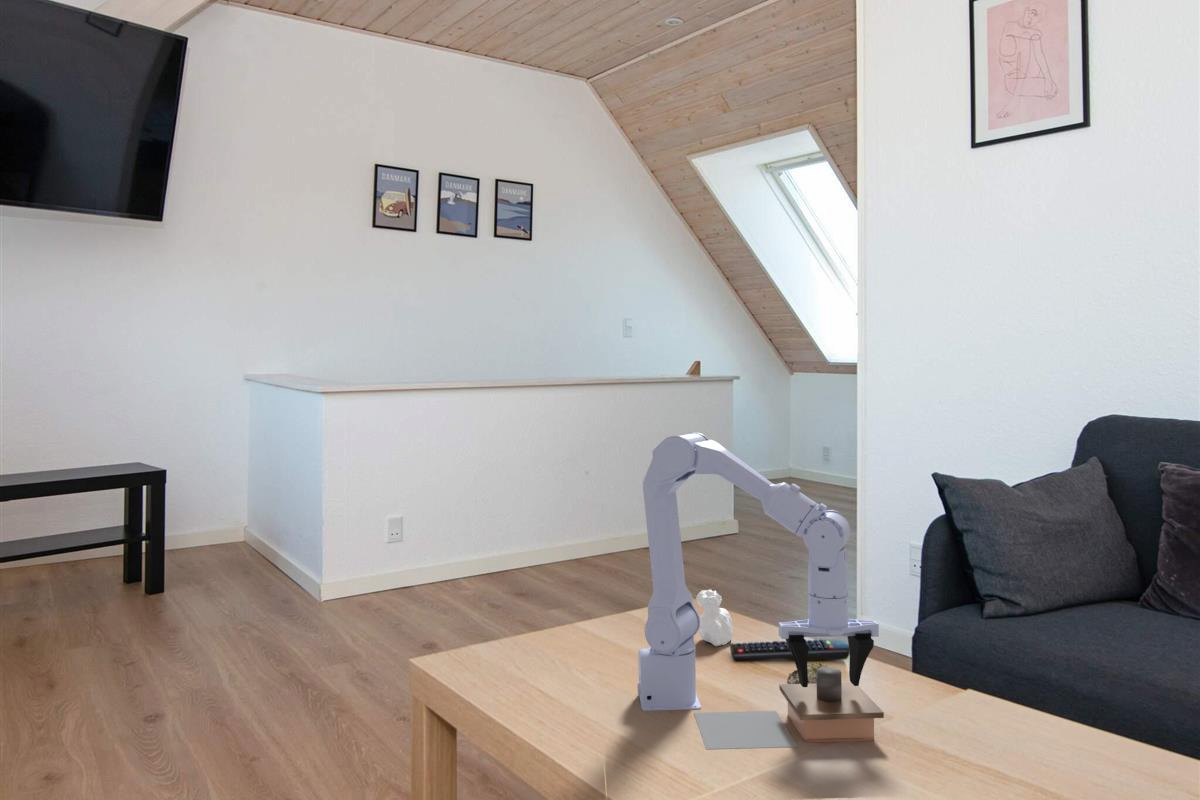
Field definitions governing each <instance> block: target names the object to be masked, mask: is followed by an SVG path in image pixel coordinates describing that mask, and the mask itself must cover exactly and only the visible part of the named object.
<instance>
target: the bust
mask: <svg viewBox="0 0 1200 800" xmlns="http://www.w3.org/2000/svg"><path fill="white" fill-rule="evenodd" d="M695 599H696V603H697V604H698V606H700V607H701V608H703V611H702V614H700V615H699V617H700V627H699V630H698V633H699V636H700V638H701V639H702V640H703V641H705V642H708V643H710V644H711V645H713V646H714V647H719V646H726V645H727V643H729V642H731V640H732V638H733V635H734V632H733V619H732V617H731V614H730V613H729V612H728V610H727V609H726V608H723V607H720V606H721V604H722V601H723V598H722V595H720V594H719V593H717V591H716V590H712V588H711V589H708V590H705V589H704V590H703V589H701V591H699V593H698V594H697V595H696V597H695ZM725 644H726V645H725Z"/></svg>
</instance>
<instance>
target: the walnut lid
mask: <svg viewBox="0 0 1200 800" xmlns="http://www.w3.org/2000/svg"><path fill="white" fill-rule="evenodd" d="M816 673H817V683H812V684H808V687H802V685H801V684H788V683H786V684H784V683H782V684H779V687H778V688H779V691H780V693H781V694H782V695H783V697H784V698H785V700H786V702H787V704H788V703H789V704H790V706H791V707H792V709H793V710H794V712H795V713H796V715H797V716H798V717H799V719H800V720H831V719H865V718H874V719H884V718H885V717H884V715H885V712H884V711H883V710H882V709H881V707H880V706H878V705H877V704H876V702H875V701H874V700H873V699H872V698H871V697H870V696H869V695H868V694H867V693H866V692H865V691H864V690H863V689H862V688H861V686H854V685H853V684H852V683H851V682H850V681H849V682H848V681H847V682H842V671H841V669H838V668H835V667H832V666H831V667H830V666H829V667H828V666H827V667H822V668H818V669H817V670H816Z"/></svg>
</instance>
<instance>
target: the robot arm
mask: <svg viewBox="0 0 1200 800" xmlns="http://www.w3.org/2000/svg"><path fill="white" fill-rule="evenodd" d="M695 474H696V475H718V476H719V477H721V478H723V479H724V480H725V481H728V482H730V484H733V485H734V486H736V487H737V488H739V489H741V490H742V491H744V492H745V493H747V494H749V495H751V496H752V497H753V498H755V499H757V500H758V501H759V502H761V506H762V509H763V512H764V514H765V515H767V516H768V517H770V518H771V519H773V520H774V521H776V523H778V524H780V525H781V526H783V527H784V528H786V529H787V530H788V531H790V532H791V533H792V534H794V535H796V536H797V537H799V538H802V539H803V543H804V546H806V548H807V550H808V563H807V567H808V568H807V569H808V572H807V573H808V575H807V576H808V577H807V580H808V581H807V582H808V590H807V591H808V619H802V620H794V621H786V622H785V621H783V622H782V621H781V622H778V636H779V637H780V638H781V639H782V640H785V642H786V643H787V646H788V648H789V650H790V654H791V655H792V658H793V660H794V663H795V667H796V670H797V671H798V676H799V683H800V684H801V685H802V687H808V673H807V666H808V658H809V657H808V656H809V649H810V646H809V645H808V644H807V639H806V638H811V637H812V638H814V637H815V638H817V637H819V638H821V637H823V638H825V637H847V642H848V654H849V668H848V669H849V671H848V673H849V675H848V676H849V682H851V683H852V684H853V685H854V686H859V685H860V679H861V675H862V672H863V669H864V666H865V663H866V661H867V659H868V657H869V655H870V653H871V652H872V650H873V648H874V646H875V640H874V639H873V638H877V637H878V638H879V636H880V635H879V630H880V629H879V627H880V626H879V623H878V622H877V621H875V620H873V619H872V620H869V619H867V620H866V619H851V618H849V575H848V574H849V573H848V572H849V566H848V565H849V564H848V562H847V558H848V554H847V553H848V552H847V551H848V549H847V548H848V547H847V546H845V545H846V544H847V543H848V541H849V539H850V536H851V526H850V523H849V521H848V520H847V519H846V518H845V517H844V515H842V514H841V512H839V511H838V510H835V509H828V506H827V505H825V504H824V503H823V502H822V503H820V504H819V503H818V502H816V501H814V500H812V499H811V498H809V497H808V496H806V495H805V494H804V493H802V492H800V490H801V487H800V486H799V485H797V484H796V483H791V485H789V484H788V483H787V482H779V483H773V482H771V481H770V480H769V479H768V478H766V477H765V476H763V475H762V474H761V473H759V472H758V471H757V470H755V469H754V468H752V467H751V466H750V465H748V464H747V463H746V462H744V461H743V460H741V459H740V458H739V457H738V456H736V455H735V454H734V453H732V452H731V451H730V450H728V449H727V448H725V447H723V445H722V444H720V443H718V441H715V440H714V439H709V438H708V437H707V436H706V435H705V434H703V433H700V432H694V431H693V432H688V433H686V434H681V435H680V434H679V435H670V436H667V437H665V438H664V439H663V440H662V441H661V442H660V443H659V444H658V445H657V446H656V447H655V448H653V450H652V459H651V461H650V464H649V466H648V468H647V471H646V473H645V475H644V478H643V481H642V492H643V501H644V511H645V521H646V532H647V541H648V549H649V559H650V569H651V571H650V572H651V578H652V579H651V580H652V588H653V589H652V590H653V591H652V595H651V596H650V599H649V603H648V605H647V621H646V623H645V625H644V636H645V640H646V642H647V644H648V645H649V646H650V647H649V646H648V647H647V648H640V649H639V650H638V655H637V656H638V659H637V660H638V683H637V695H638V696H639V697H638V698H639V702H640V705H641V710H642V711H647V712H649V711H682V710H683V711H685V710H688V711H689V710H701V709H702V705H701V703H700V700H699V698H698V694H697V690H696V689H697V686H696V685H697V684H696V683H697V681H696V679H697V678H696V643H695V640H694V636H695V635H696V634H697V633H699V627H700V614H699V612H698V610H697V608H696V607H695V604H694V601H693V594H692V593H691V591H690V590H689V588H687V586H686V576H685V566H684V558H683V556H684V555H683V547H682V540H681V539H682V538H681V529H680V528H681V527H680V520H679V518H680V517H679V507H678V501H677V499H678V498H677V491H678V490H679V489H680V488H681V487H682V486H683V485H684V484H685V482H687V480H688V479H689V477H692V476H693V475H695ZM827 509H828V510H827ZM859 687H860V686H859Z"/></svg>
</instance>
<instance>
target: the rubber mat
mask: <svg viewBox="0 0 1200 800" xmlns="http://www.w3.org/2000/svg"><path fill="white" fill-rule="evenodd" d="M693 716H694V718H695V722H696V723H697V727H698V730H699V733H700V735H701V738H702V741H703V744H704V747H705V748H706V749H705V750H732V749H733V750H734V749H735V750H738V749H771V748H772V749H773V748H774V749H775V748H777V749H779V748H798V745H797V743H796V742H795V739H794V738H793V735H791V733H790V732H789V729H788V728H787V727H786V725H785V723H784V722H783V720H782V718H781V717H780V715H779V714H778V712H777V710H757V711H756V710H754V711H753V710H752V711H716V712H715V711H713V712H711V711H710V712H693Z"/></svg>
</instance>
